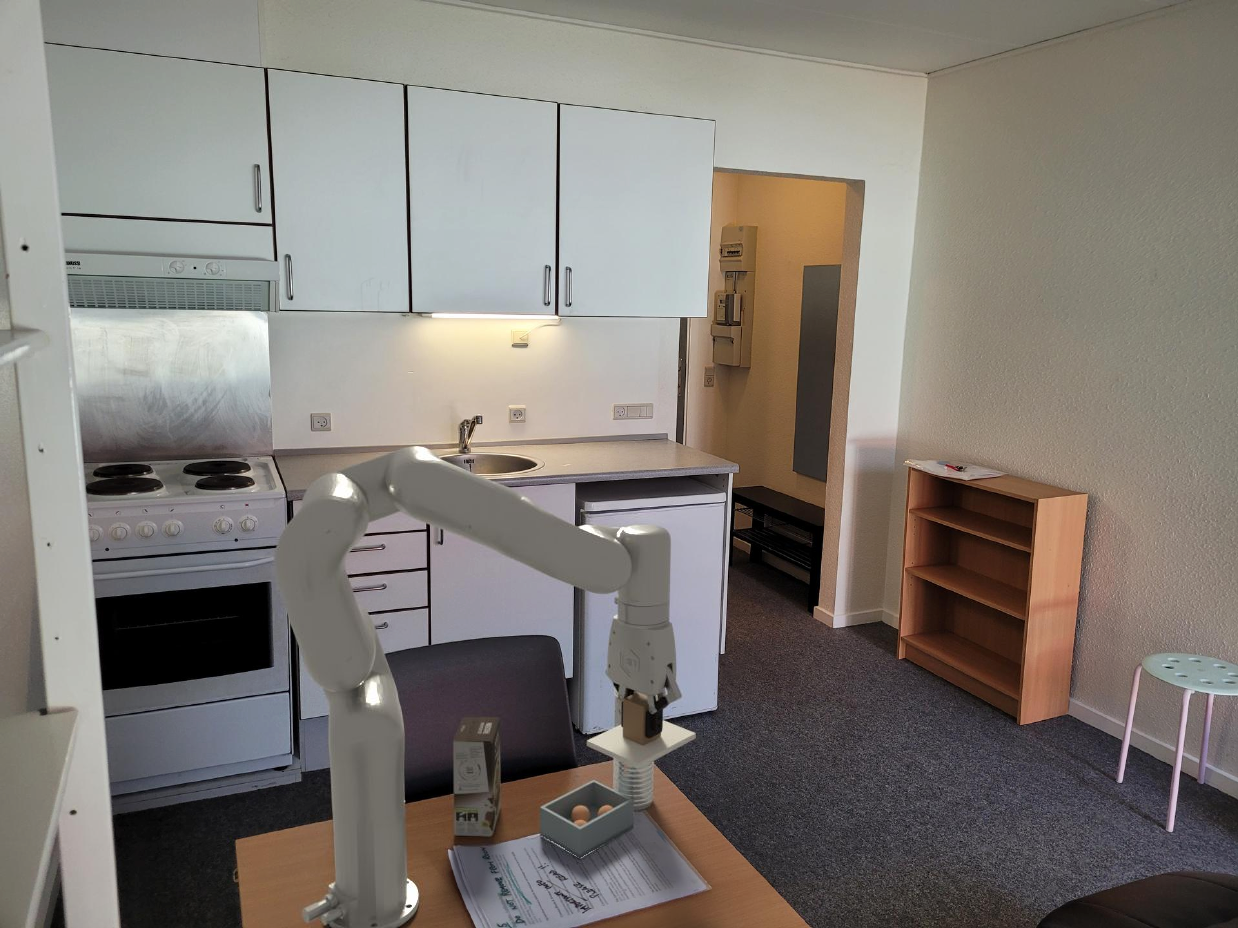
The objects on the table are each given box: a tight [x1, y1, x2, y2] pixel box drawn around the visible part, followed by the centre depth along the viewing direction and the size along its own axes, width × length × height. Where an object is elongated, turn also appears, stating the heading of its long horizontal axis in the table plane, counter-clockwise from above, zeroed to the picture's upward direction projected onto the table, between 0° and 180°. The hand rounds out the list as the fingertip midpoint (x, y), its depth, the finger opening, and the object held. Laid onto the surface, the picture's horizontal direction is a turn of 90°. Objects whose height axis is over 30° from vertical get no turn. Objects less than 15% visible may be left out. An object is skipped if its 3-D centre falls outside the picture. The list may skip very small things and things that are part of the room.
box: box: [539, 779, 635, 858], centre depth 147 cm, size 12×9×5 cm
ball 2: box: [574, 820, 587, 827], centre depth 143 cm, size 3×3×3 cm
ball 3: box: [598, 805, 613, 817], centre depth 148 cm, size 3×3×3 cm
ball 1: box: [571, 805, 590, 822], centre depth 148 cm, size 3×3×3 cm
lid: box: [586, 692, 697, 769], centre depth 136 cm, size 13×10×7 cm
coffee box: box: [452, 716, 502, 837], centre depth 149 cm, size 9×6×16 cm
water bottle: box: [612, 686, 655, 812], centre depth 154 cm, size 7×7×25 cm
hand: (641, 728), depth 136 cm, fingers closed on lid, 4 cm apart
